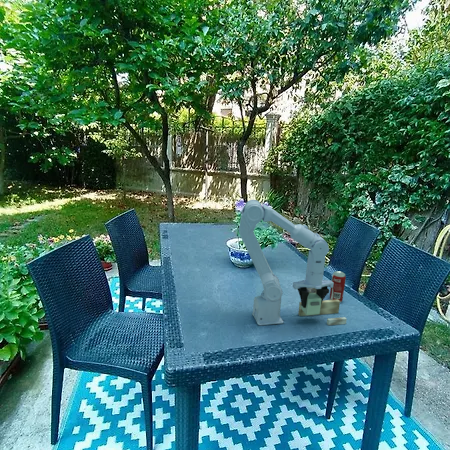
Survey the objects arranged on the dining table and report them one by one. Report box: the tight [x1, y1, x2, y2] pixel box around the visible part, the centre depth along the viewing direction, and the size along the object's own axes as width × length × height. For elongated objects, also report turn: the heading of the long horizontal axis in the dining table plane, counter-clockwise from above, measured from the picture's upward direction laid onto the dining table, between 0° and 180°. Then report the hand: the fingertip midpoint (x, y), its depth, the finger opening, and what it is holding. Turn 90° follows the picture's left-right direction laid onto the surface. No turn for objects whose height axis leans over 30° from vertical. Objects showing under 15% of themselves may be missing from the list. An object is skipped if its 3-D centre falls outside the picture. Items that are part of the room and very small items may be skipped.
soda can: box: [329, 270, 347, 303], centre depth 122 cm, size 5×5×12 cm
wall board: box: [297, 299, 347, 326], centre depth 108 cm, size 16×9×5 cm, turn 101°
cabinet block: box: [301, 293, 321, 316], centre depth 104 cm, size 5×5×6 cm
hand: (310, 305), depth 105 cm, fingers closed on cabinet block, 5 cm apart
